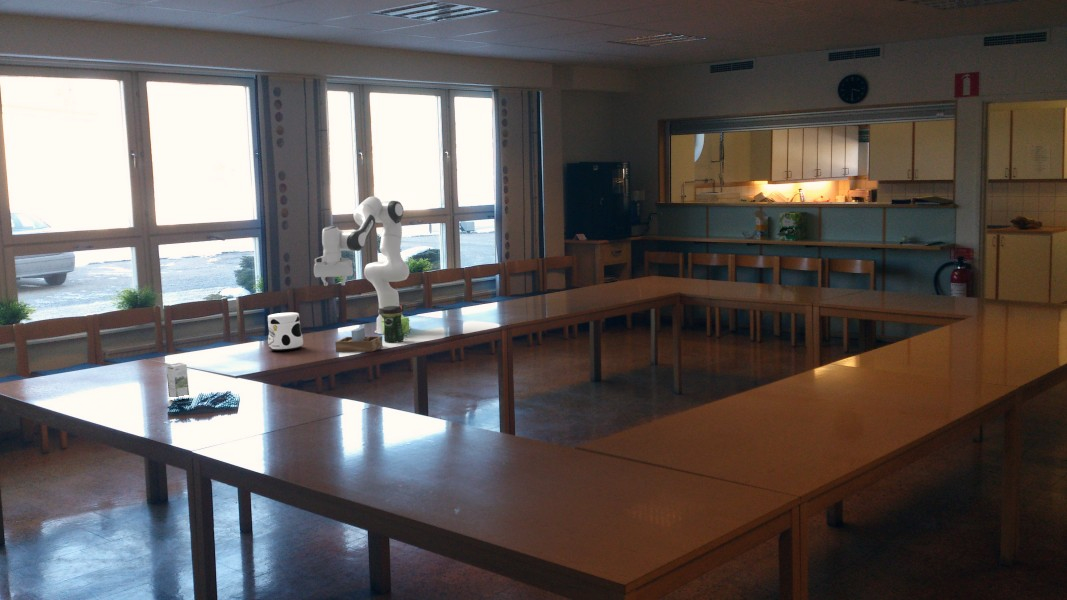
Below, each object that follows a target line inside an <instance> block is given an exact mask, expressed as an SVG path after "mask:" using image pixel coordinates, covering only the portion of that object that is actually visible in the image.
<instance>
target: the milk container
mask: <svg viewBox="0 0 1067 600" xmlns="http://www.w3.org/2000/svg"><path fill="white" fill-rule="evenodd" d="M267 325H268V326H267V327H268V337H267V343H268V348H269V349H270V350H272V351H275V352H276V351H277V352H284V351H285V352H286V351H287V350H288V351H294V350H298V349H300V348H301V347H303V344H304V337H303V334H302V331H301V322H300V313H299V312H280V313H279V312H278V313H273V314H269V315H267Z"/></svg>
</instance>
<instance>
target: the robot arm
mask: <svg viewBox="0 0 1067 600" xmlns="http://www.w3.org/2000/svg"><path fill="white" fill-rule="evenodd" d="M403 216H404V206H403V205H402V203H401V202H400V201H398V200H391V201H390V200H389V201H381V200H380V199H379V197H376V196H374V195H373V196H369V197H367V198H365V199H364V200H363V201H362V202H360V204H359V205H357V207H356V208H355V209H354V212H353V220H354V222H355V223H356V224H357V225H358V226H359V228H358V229H357V230H354V231H343V230H341V229H339V227H338V226H336V225H329V226H326V227H324V228H323V229H322V232H321V233H322V234H321V243H322V248H323V251H322V255H321V256H319V257H316V258H314V264H313V275H314V276H315V278H320V279H321V281H322V283H323V286H324V287H327V286H328V285H329V284H328V281H326V278H333V277H334V278H335V277H342V279H343V280H342V281H340V286H346V281H347V279H348V277H351V276H353V275H354V268H353V260H352V259H351V258H350V257H342V251H354V252H359V251H361V250H363V248H364V247H365V245H366V242H367V240H368V238H369V236H370V234H371V232H372V231H373V229H374V227H375V224H379V223H380V224H382V226H383V227H382V231H381V234H380V235H381V236H380V243H379V251H380V253H381V254H382V255H383V256H385V257H386V261H373V262H370V263H367V264H366V265H365V267H364V270H363V271H364V272H363V275H364V277H365V279H366V280H367V281H368V282H369V283H371V284H372V286H373V287H374V288H375V292H376V294H377V299H378V310H377V312H378V316H377V317H376V330H374V333H376V334H380V335H384V334H383V322H382V321H383V319H384V318H383V315H382V314H383V313H382V312H383V307H387V306H400V307H401V310H402V309H403V307H402V305H400V297H399V295H400V294H399V292H398V290H397V289H395V288H393V287H392V286H391V285H390V282H391V283H392V282H394V283H395V282H397V283H398V282H402V281H405V280H407V279H408V277H409V275H410V267H409V265H408V264H407V262H405V261H404V260H403V258H402V255H401V244H402V234H403V232H402V231H403V227H402V226H403V225H402V223H401V221H402V219H403ZM401 317H405V316H404V315H403V314H402V315H401ZM409 330H411V326H410V325H409Z"/></svg>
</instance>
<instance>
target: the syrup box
mask: <svg viewBox="0 0 1067 600" xmlns="http://www.w3.org/2000/svg"><path fill="white" fill-rule="evenodd" d="M187 365H188V364H186V363H184V362H177V363H171V364H167V365H166V366H165V367H166V369H165V370H166V380H167V391H168V398H169V397H179V396H184V395H189V396H190V391H189V390H190V389H189V379H188V367H187Z"/></svg>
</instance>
